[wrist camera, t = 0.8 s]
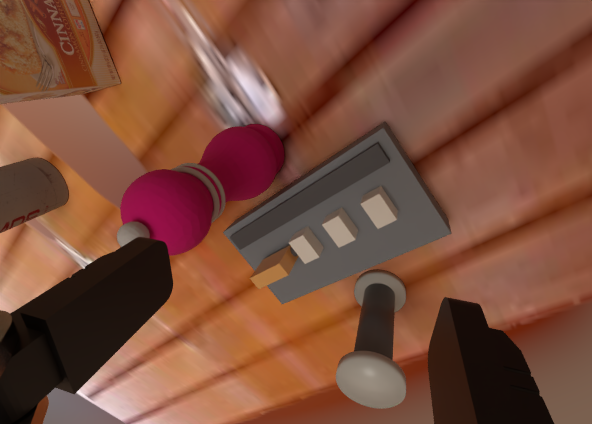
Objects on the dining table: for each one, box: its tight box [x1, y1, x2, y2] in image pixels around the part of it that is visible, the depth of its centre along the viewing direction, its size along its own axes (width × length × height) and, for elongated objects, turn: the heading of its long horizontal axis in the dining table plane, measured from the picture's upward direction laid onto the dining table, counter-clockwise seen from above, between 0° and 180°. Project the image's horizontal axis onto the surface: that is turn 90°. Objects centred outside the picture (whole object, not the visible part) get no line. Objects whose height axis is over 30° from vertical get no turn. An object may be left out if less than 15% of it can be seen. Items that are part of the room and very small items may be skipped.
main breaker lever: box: [250, 245, 298, 289], centre depth 35 cm, size 5×2×4 cm, turn 128°
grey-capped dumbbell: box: [336, 270, 406, 408], centre depth 33 cm, size 6×6×13 cm
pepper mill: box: [117, 124, 285, 255], centre depth 27 cm, size 7×7×20 cm
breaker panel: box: [223, 122, 452, 304], centre depth 34 cm, size 22×12×5 cm, turn 128°
